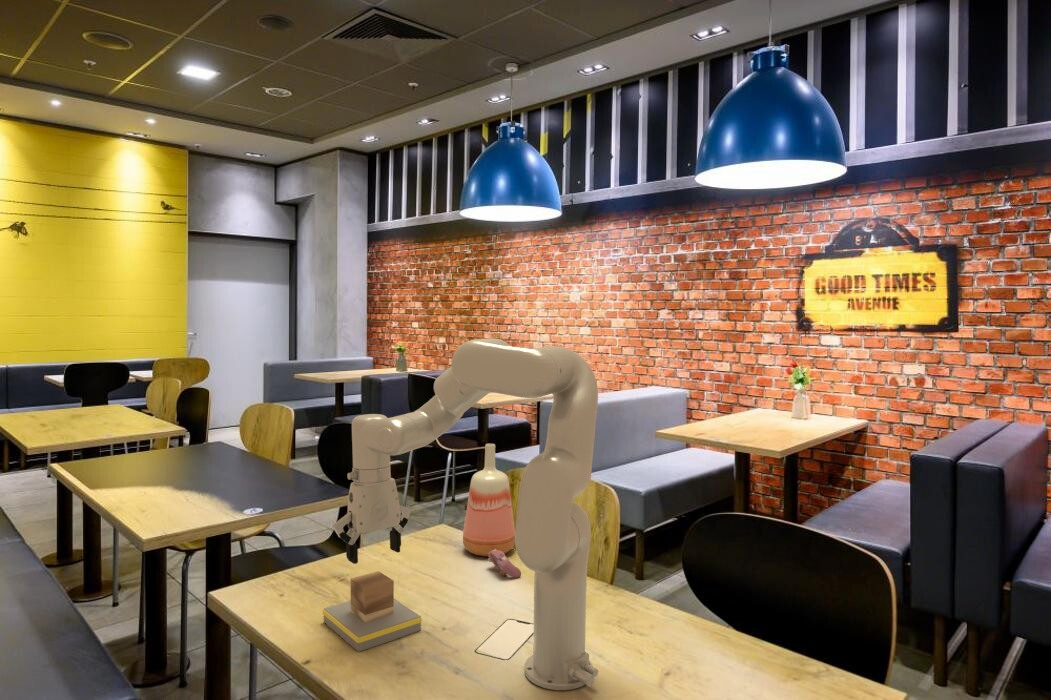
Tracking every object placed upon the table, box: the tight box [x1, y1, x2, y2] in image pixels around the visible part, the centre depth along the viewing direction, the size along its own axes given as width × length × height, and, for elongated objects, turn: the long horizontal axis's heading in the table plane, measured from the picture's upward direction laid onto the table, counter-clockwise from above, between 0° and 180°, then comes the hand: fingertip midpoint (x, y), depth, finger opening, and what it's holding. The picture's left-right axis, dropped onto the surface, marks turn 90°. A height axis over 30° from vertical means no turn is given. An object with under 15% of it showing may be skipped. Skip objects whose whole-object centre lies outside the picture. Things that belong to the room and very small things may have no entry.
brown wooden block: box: [350, 571, 395, 622], centre depth 142 cm, size 6×6×7 cm
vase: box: [462, 443, 516, 558], centre depth 186 cm, size 14×14×30 cm
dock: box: [322, 598, 422, 652], centre depth 142 cm, size 16×14×3 cm
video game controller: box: [487, 549, 522, 579], centre depth 172 cm, size 10×5×7 cm, turn 26°
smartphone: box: [474, 618, 534, 661], centre depth 138 cm, size 8×1×16 cm
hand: (374, 556), depth 141 cm, fingers open, 9 cm apart
